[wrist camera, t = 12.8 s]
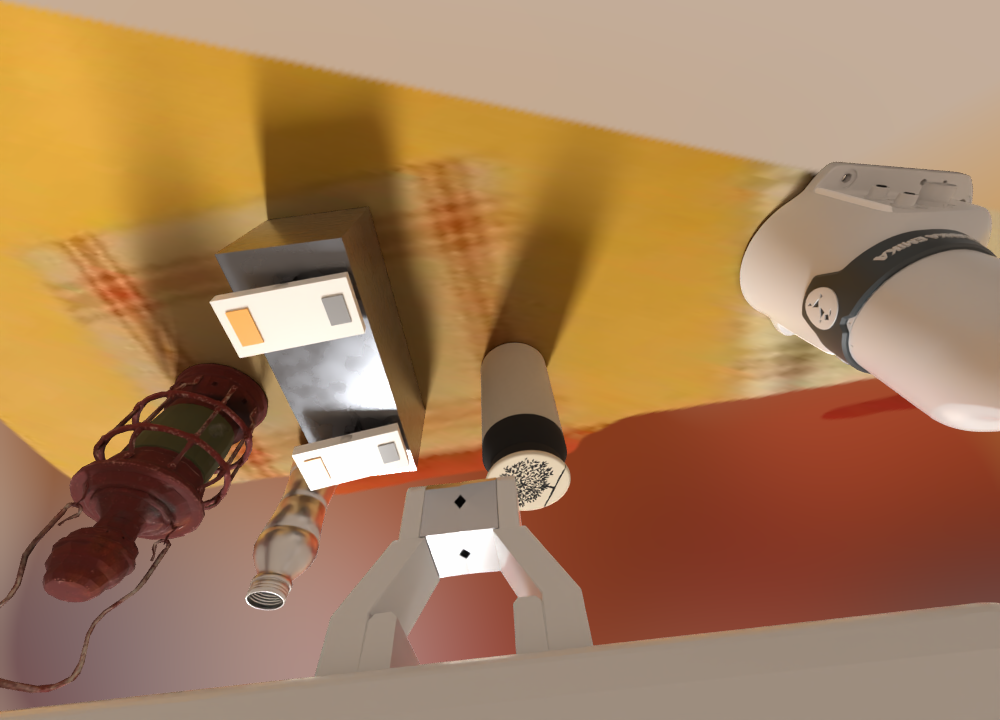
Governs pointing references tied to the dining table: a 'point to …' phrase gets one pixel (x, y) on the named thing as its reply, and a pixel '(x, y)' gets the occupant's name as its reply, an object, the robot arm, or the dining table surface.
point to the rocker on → (290, 314)
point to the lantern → (149, 487)
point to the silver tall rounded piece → (288, 542)
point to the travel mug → (522, 425)
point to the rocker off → (351, 456)
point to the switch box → (345, 361)
